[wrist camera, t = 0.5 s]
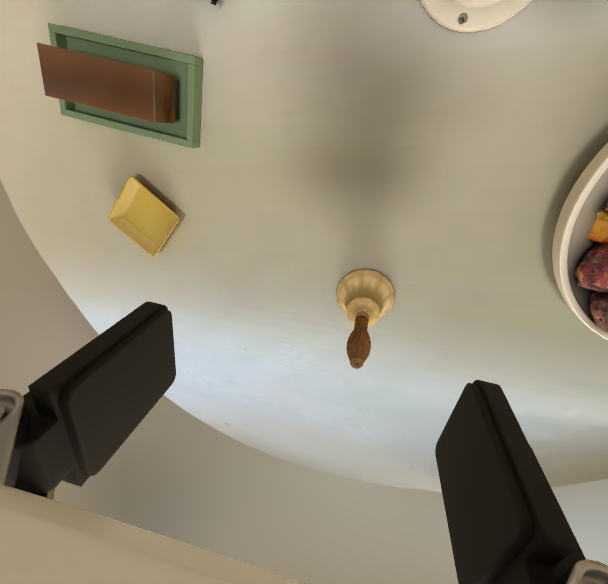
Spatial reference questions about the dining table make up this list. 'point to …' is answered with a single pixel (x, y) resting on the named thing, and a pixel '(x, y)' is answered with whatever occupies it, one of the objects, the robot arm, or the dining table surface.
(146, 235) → the yellow flat tray
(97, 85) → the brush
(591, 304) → the bowl
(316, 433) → the dining table surface
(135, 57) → the tray
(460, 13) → the robot arm
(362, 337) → the hand bell
